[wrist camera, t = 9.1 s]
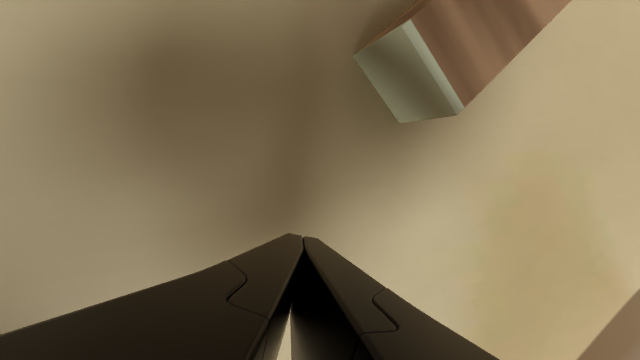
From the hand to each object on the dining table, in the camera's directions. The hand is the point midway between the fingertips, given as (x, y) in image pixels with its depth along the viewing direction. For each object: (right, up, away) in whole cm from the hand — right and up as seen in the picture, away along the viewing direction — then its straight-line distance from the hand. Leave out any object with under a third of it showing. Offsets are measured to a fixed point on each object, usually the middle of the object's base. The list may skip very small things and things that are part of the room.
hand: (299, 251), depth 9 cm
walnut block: (+5, +7, +9) cm, 13 cm away
